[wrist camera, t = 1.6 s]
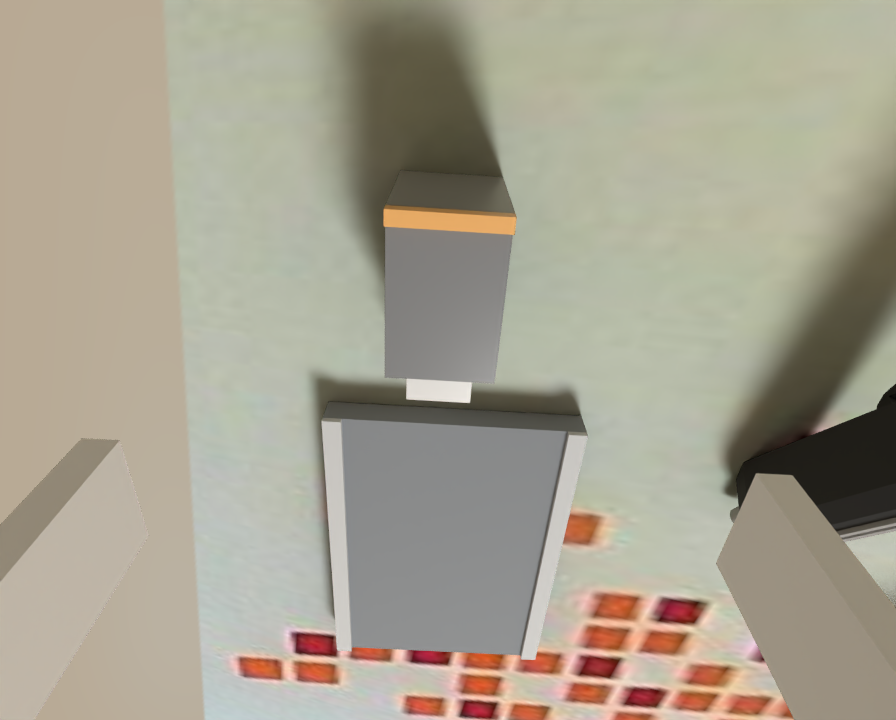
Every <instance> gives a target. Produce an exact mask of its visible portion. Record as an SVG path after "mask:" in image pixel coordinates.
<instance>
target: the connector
mask: <svg viewBox="0 0 896 720" xmlns="http://www.w3.org/2000/svg"><path fill="white" fill-rule="evenodd" d="M516 219H517V217H516V214H515V211H514V208H513V205H512V202H511V200H510V197H509V194H508V191H507V188H506V185H505V182H504V179H503V177H495V176H479V175H464V174H449V173H433V172H418V171H403V170H400V173H399V175H398V177H397V179H396V182H395V184H394V186H393V189H392V191H391V193H390V195H389V198H388V200H387V202H386V205H385V207H384V227H385V377H388V378H405V379H407V387H406V399H409V400H426V401H444V402H461V403H470V398H471V388H472V382H473V383H490V384H495V376H496V367H497V359H498V351H499V343H500V335H501V326H502V318H503V310H504V302H505V294H506V286H507V277H508V269H509V261H510V253H511V245H512V236H513V235H515V227H516Z"/></svg>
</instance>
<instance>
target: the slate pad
mask: <svg viewBox="0 0 896 720" xmlns="http://www.w3.org/2000/svg"><path fill="white" fill-rule="evenodd" d="M322 436H323V450H324V465H325V480H326V494H327V509H328V523H329V538H330V553H331V567H332V582H333V596H334V611H335V626H336V640H337V650H338V651H352V647H361V648H382V649H403V650H424V651H445V652H465V653H486V654H507V655H521V659H527V660H535V658H536V653H537V649H538V645H539V641H540V637H541V632H542V628H543V624H544V620H545V616H546V611H547V607H548V603H549V599H550V594H551V590H552V586H553V582H554V578H555V573H556V569H557V565H558V561H559V556H560V552H561V548H562V544H563V540H564V535H565V531H566V527H567V523H568V518H569V514H570V510H571V506H572V502H573V497H574V493H575V489H576V485H577V480H578V476H579V472H580V468H581V464H582V459H583V455H584V451H585V447H586V442H587V438H588V435H587V432H586V429H585V426H584V423H583V420H582V417H581V416H573V415H556V414H538V413H520V412H503V411H485V410H467V409H450V408H432V407H414V406H397V405H379V404H361V403H344V402H328V404H327V407H326V410H325V413H324V416H323V418H322Z"/></svg>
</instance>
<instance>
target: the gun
mask: <svg viewBox="0 0 896 720" xmlns="http://www.w3.org/2000/svg"><path fill="white" fill-rule="evenodd" d="M756 473H759V474H779V475H793V477H794V478H795V479H796V481H797V482H798V483H799V484H800V486H801V487H802V488H803V490H804V491H805V492H806V493H807V495H808V496H809V497H810V499H811V500H812V501H813V502H814V504H815V505H816V506H817V508H818V509H819V510H820V511H821V513H822V514H823V515H824V517H825V518H826V519H827V520H828V522H829V523H830V524H831V526H832V527H833V528H834V529H835V531H836V532H837V533H838V535H839V536H840V537H841V538H842V540H843V541H844V542H846V541H851V540H855V539H860V538H865V537H870V536H874V535H879V534H884V533H888V532H893V531H896V384H895V385H894V386H893V387H891V388H890V389H889V390H888V391H887V392H886V393H885V394H884V395H883V397H882V398H881V400H880V402H879V403H878V405H877V409H876V410H874V411H871V412H869V413H866V414H864V415H861V416H859V417H856V418H854V419H851V420H849V421H846V422H844V423H841V424H839V425H836V426H834V427H831V428H829V429H826V430H824V431H821V432H819V433H816V434H814V435H811V436H809V437H806V438H804V439H801V440H799V441H796V442H794V443H791V444H789V445H786V446H784V447H781V448H779V449H776V450H774V451H771V452H769V453H766V454H763V455H761V456H758V457H756V458H753V459H751V460H748V461H746V462H744V463H743V465H742V467H741V470H740V472H739V474H738V476H737V479H736V483H737V493H738V503H739V506H738V507H736V508H734V509H732V510H731V512H730V517H731V520H732V522H733V523H734V522H735V520H736V517H737V515H738V513H739V511H740V508H741V506H742V504H743V502H744V499H745V497H746V495H747V493H748V490H749V488H750V486H751V484H752V481H753V479H754V477H755V475H756Z"/></svg>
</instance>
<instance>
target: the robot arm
mask: <svg viewBox="0 0 896 720" xmlns="http://www.w3.org/2000/svg"><path fill="white" fill-rule="evenodd" d="M148 536H149V534H148V531H147V528H146V525H145V521H144V518H143V515H142V511H141V508H140V505H139V502H138V498H137V495H136V492H135V488H134V485H133V482H132V479H131V476H130V472H129V469H128V466H127V462H126V459H125V456H124V453H123V449H122V446H121V443H120V440H105V439H104V440H103V439H85V438H82V439H81V440H80V441H79V442H78V443H77V444H76V445H75V446H74V447H73V448H72V449H71V450H70V451H69V452H68V453H67V455H66V456H65V457H64V458H63V459H62V460H61V461H60V462H59V463H58V464H57V465H56V466H55V467H54V468H53V469H52V470H51V471H50V473H49V474H48V475H47V476H46V477H45V478H44V479H43V480H42V481H41V482H40V483H39V484H38V485H37V486H36V487H35V488H34V490H33V491H32V492H31V493H30V494H29V495H28V496H27V497H26V498H25V499H24V500H23V501H22V502H21V503H20V504H19V505H18V506H17V507H16V509H15V510H14V511H13V512H12V513H11V514H10V515H9V516H8V517H7V518H6V519H5V520H4V521H3V522H2V523H1V524H0V720H35V718H36V716H37V715H38V713H39V711H40V710H41V708H42V707H43V705H44V704H45V702H46V700H47V699H48V697H49V695H50V694H51V692H52V691H53V689H54V687H55V686H56V684H57V683H58V681H59V679H60V678H61V676H62V675H63V673H64V671H65V670H66V668H67V666H68V665H69V663H70V662H71V660H72V658H73V657H74V655H75V654H76V652H77V650H78V649H79V647H80V646H81V644H82V642H83V641H84V639H85V637H86V636H87V634H88V633H89V631H90V630H91V628H92V626H93V625H94V623H95V621H96V620H97V618H98V617H99V615H100V613H101V612H102V610H103V609H104V607H105V605H106V604H107V602H108V601H109V599H110V597H111V596H112V594H113V592H114V591H115V589H116V588H117V586H118V584H119V583H120V581H121V580H122V578H123V576H124V575H125V573H126V571H127V570H128V568H129V567H130V565H131V564H132V562H133V560H134V559H135V557H136V555H137V554H138V552H139V550H140V549H141V547H142V546H143V544H144V543H145V541H146V539H147V538H148ZM716 564H717V566H718V568H719V570H720V572H721V574H722V576H723V578H724V580H725V582H726V584H727V586H728V588H729V590H730V592H731V594H732V596H733V598H734V600H735V602H736V604H737V606H738V608H739V610H740V612H741V614H742V616H743V618H744V620H745V622H746V624H747V626H748V628H749V630H750V632H751V634H752V636H753V638H754V640H755V642H756V644H757V646H758V648H759V650H760V652H761V654H762V656H763V658H764V660H765V662H766V664H767V666H768V668H769V670H770V672H771V674H772V676H773V678H774V680H775V682H776V684H777V686H778V688H779V690H780V692H781V694H782V696H783V698H784V700H785V702H786V704H787V706H788V708H789V710H790V712H791V714H792V716H793V718H794V720H896V608H895V606H894V605H893V604H892V603H891V601H890V600H889V599H888V597H887V596H886V595H885V594H884V592H883V591H882V590H881V588H880V587H879V586H878V585H877V583H876V582H875V581H874V579H873V578H872V577H871V576H870V574H869V573H868V572H867V570H866V569H865V568H864V567H863V565H862V564H861V563H860V561H859V560H858V559H857V558H856V556H855V555H854V554H853V552H852V551H851V550H850V549H849V547H848V546H847V545H846V544H845V542H844V541H843V540H842V538H841V537H840V536H839V535H838V533H837V532H836V531H835V529H834V528H833V527H832V526H831V524H830V523H829V522H828V520H827V519H826V518H825V517H824V515H823V514H822V513H821V511H820V510H819V509H818V508H817V506H816V505H815V504H814V502H813V501H812V500H811V499H810V497H809V496H808V495H807V493H806V492H805V491H804V490H803V488H802V487H801V486H800V484H799V483H798V482H797V481H796V479H795V478H794V477H793V475H779V474H759V473H756V475H755V477H754V479H753V481H752V484H751V486H750V488H749V490H748V493H747V495H746V497H745V499H744V502H743V504H742V506H741V508H740V511H739V513H738V515H737V517H736V520H735V522H734V524H733V526H732V529H731V531H730V533H729V535H728V538H727V540H726V542H725V544H724V547H723V549H722V551H721V553H720V556H719V558H718V560H717V562H716Z"/></svg>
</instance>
